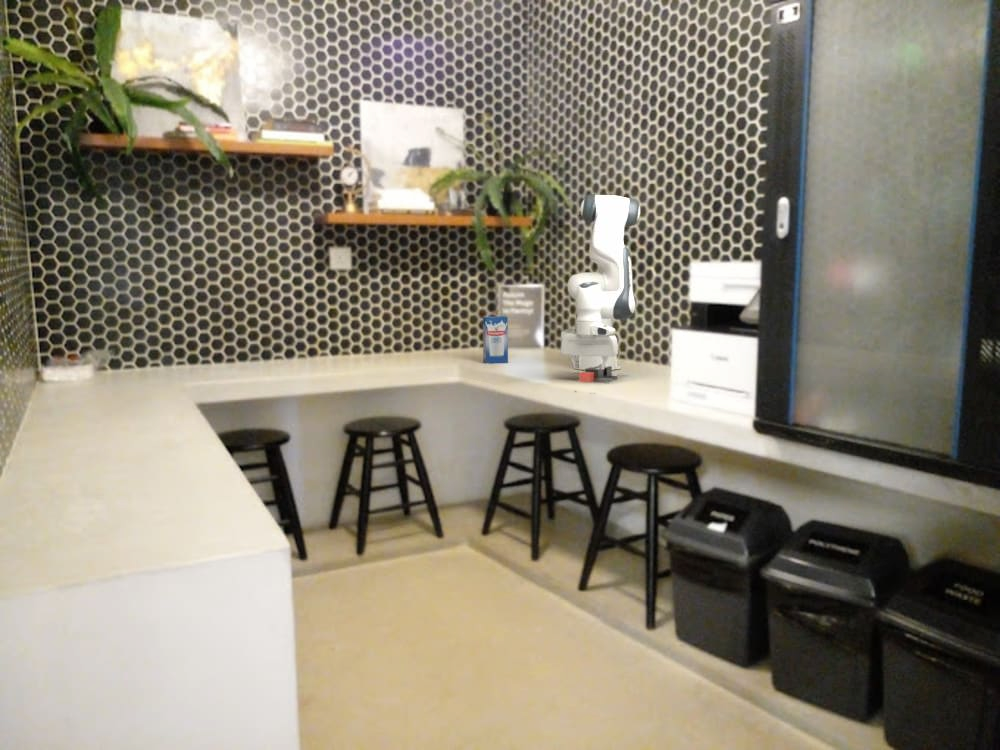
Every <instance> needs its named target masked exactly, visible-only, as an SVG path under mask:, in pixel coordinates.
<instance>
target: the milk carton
mask: <svg viewBox="0 0 1000 750" xmlns="http://www.w3.org/2000/svg"><path fill="white" fill-rule="evenodd" d="M508 318H509V317H508V316H502V315H501V316H482V341H483V342H482V346H483V347H482V350H483V351H482V352H483V355H482V356H483V357H482V358H483V363H484V362H485V364H486V363H490V364H508V363H509V346H508V345H509V343H508V342H509V333H508V332H509V331H508V329H509V328H508V326H509V324H508V323H509V322H508V321H509V319H508Z"/></svg>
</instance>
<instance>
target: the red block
mask: <svg viewBox="0 0 1000 750" xmlns="http://www.w3.org/2000/svg"><path fill="white" fill-rule="evenodd" d="M578 380H579V381H581V382H580V383H593V382H592V381H594V372H585V371H581V372H579V373H578Z"/></svg>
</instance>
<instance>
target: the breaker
mask: <svg viewBox="0 0 1000 750" xmlns="http://www.w3.org/2000/svg"><path fill="white" fill-rule="evenodd" d="M584 372H594V377H597V378H603V370H600V369H599V368H593V367H590V368H587V369H585V370H584Z"/></svg>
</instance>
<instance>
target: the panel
mask: <svg viewBox="0 0 1000 750" xmlns="http://www.w3.org/2000/svg"><path fill="white" fill-rule="evenodd" d="M594 368H599V366H596V367H594ZM612 371H613V370H612V366H605V369H604V370H603V378H597V377H594V381H592V382H591V383H596V384H597V383H598V384H610V383H612V382H615V381H618V380H620V379H624V378H625V377H628V376H629V375H628V374H617V373H615V374H614V373H612ZM576 382H580V383H582V382H581V381H579V379H578V380H576Z"/></svg>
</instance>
